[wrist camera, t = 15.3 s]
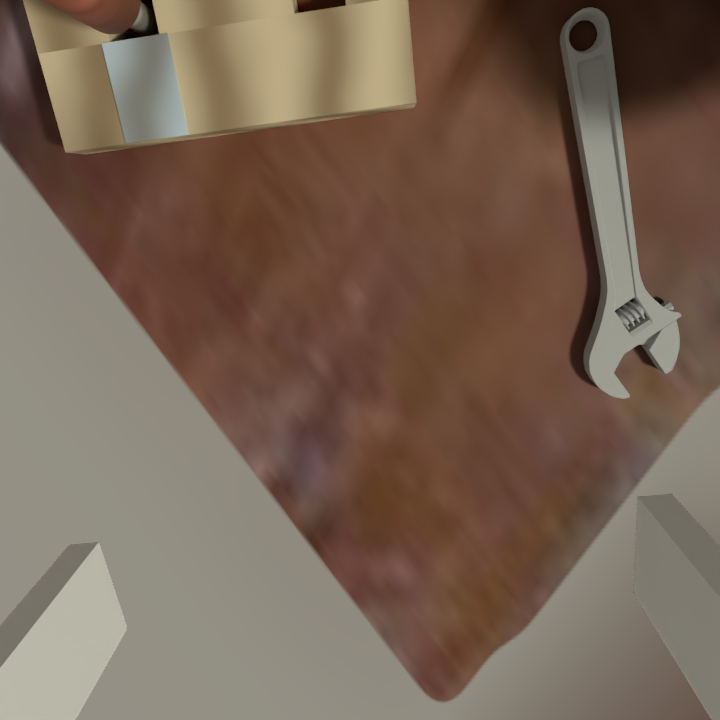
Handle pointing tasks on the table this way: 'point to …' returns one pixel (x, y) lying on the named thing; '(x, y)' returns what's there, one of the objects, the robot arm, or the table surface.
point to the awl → (110, 15)
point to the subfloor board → (222, 69)
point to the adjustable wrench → (612, 217)
